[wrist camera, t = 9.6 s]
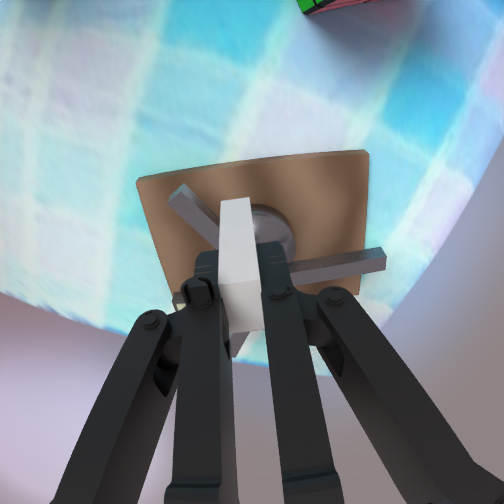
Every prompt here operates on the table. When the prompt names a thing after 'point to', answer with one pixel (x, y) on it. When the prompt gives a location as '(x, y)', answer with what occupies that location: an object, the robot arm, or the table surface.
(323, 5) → the puzzle cube
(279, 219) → the cam capstan
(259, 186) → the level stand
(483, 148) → the table surface
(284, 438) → the robot arm
